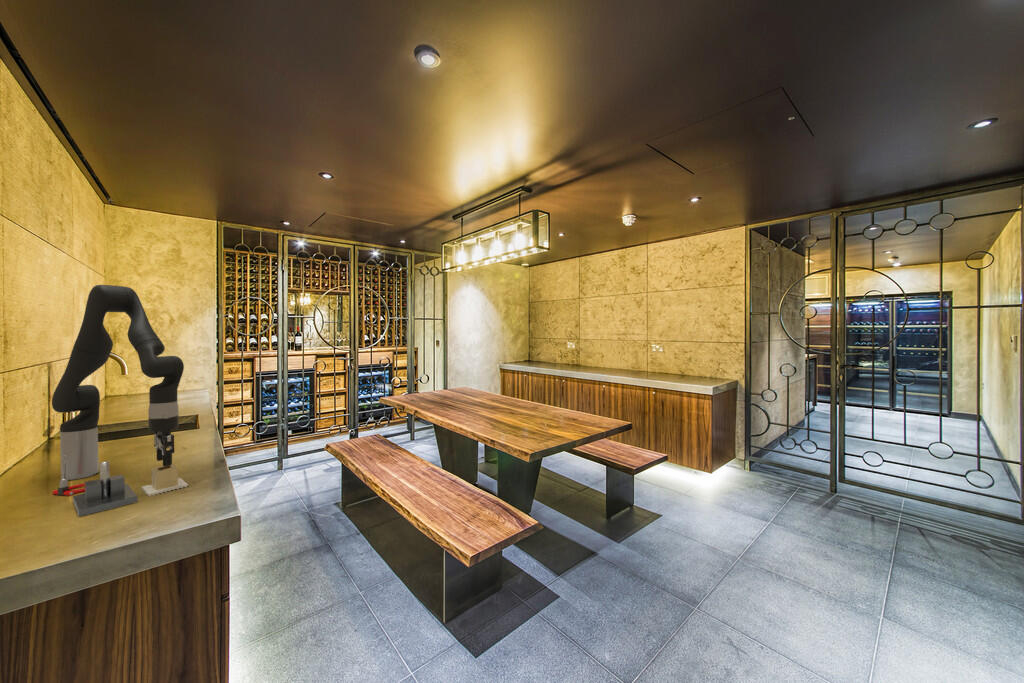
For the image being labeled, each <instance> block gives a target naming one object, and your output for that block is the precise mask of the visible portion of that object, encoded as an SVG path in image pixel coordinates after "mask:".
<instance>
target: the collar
mask: <svg viewBox="0 0 1024 683" xmlns="http://www.w3.org/2000/svg"><path fill="white" fill-rule="evenodd" d="M178 476H179V475H178V466H176V464H173V463H172V465H170V466H163V465H162V466H156V467H152V468H151V484H152V487H153V488H154V489H155V490H158V489H162V488H167V487H171V486H175V485H178V478H179V477H178Z"/></svg>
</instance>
